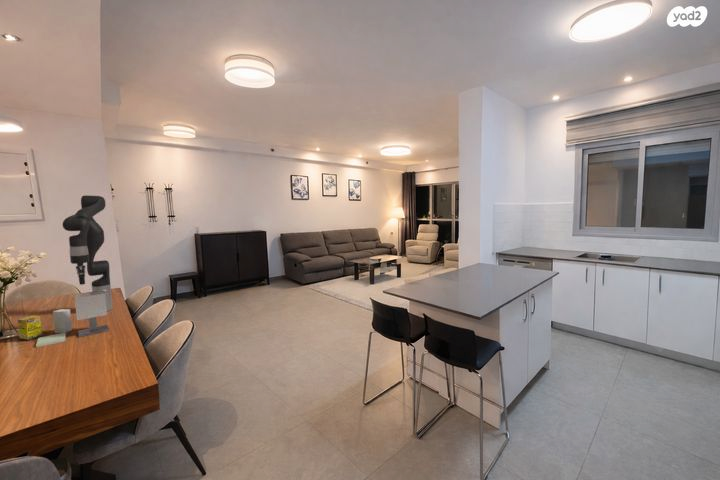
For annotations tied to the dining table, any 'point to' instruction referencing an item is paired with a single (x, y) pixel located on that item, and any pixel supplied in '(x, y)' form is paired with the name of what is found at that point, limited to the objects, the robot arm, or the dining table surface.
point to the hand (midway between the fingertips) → (82, 283)
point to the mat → (51, 339)
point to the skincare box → (62, 320)
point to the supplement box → (29, 328)
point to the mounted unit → (91, 311)
